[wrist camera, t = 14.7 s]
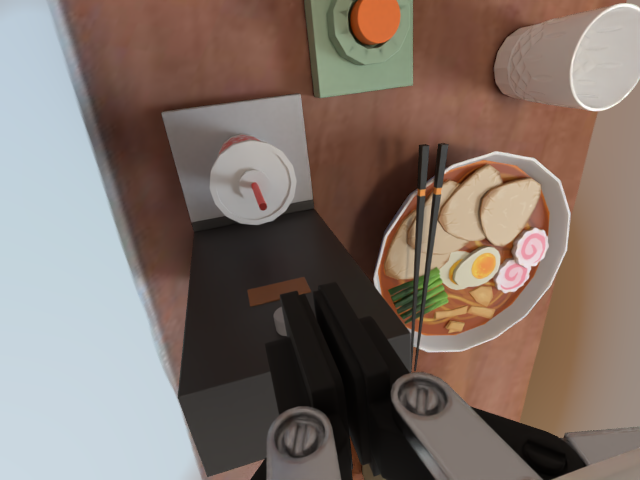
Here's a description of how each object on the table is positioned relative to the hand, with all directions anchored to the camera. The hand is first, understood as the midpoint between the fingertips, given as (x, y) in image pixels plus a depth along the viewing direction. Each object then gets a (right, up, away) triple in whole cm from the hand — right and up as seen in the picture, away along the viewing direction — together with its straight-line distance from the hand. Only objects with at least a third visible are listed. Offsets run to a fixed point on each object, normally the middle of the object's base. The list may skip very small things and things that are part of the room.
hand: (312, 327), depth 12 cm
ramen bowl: (+14, +3, +34) cm, 37 cm away
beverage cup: (-7, +10, +23) cm, 26 cm away
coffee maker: (-7, +7, +25) cm, 27 cm away
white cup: (+21, +21, +28) cm, 41 cm away
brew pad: (+3, +22, +22) cm, 31 cm away
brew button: (+4, +21, +19) cm, 28 cm away
